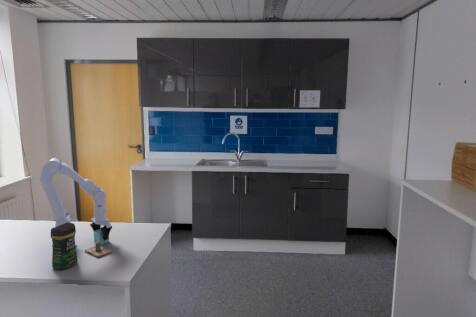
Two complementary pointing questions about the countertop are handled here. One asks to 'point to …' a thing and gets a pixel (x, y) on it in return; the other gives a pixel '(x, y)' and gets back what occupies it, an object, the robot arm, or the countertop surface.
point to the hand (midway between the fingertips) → (101, 237)
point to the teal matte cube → (99, 237)
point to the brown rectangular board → (98, 250)
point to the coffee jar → (63, 246)
